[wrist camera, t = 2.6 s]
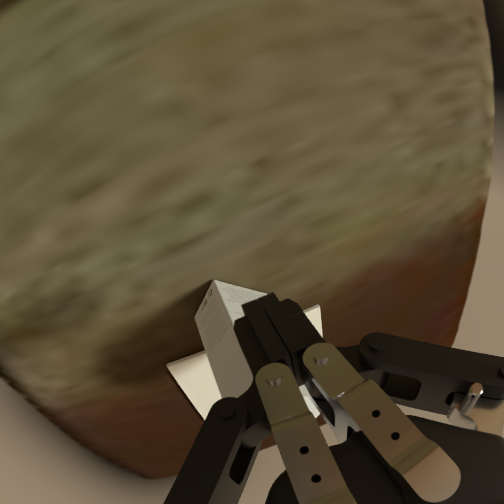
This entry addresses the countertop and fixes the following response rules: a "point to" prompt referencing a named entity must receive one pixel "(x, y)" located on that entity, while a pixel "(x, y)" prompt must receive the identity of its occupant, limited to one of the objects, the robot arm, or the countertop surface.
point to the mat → (201, 376)
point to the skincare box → (229, 339)
